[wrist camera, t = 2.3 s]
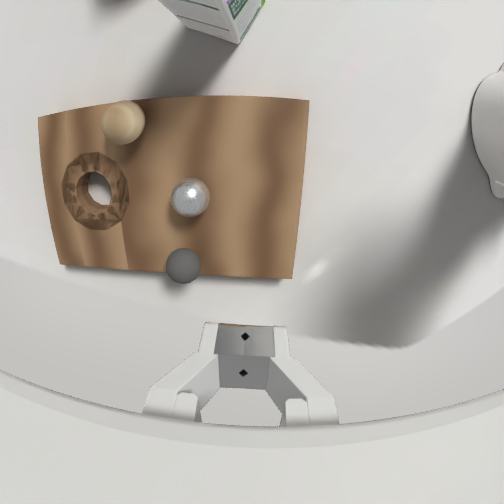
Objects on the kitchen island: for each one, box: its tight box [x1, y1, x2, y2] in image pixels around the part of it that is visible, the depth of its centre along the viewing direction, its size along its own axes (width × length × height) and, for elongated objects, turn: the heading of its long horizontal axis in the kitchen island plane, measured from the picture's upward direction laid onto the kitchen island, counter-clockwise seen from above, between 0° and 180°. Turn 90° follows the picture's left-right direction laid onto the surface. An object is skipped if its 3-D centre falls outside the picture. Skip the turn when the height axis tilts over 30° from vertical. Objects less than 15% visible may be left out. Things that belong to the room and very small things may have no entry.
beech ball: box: [101, 101, 145, 145], centre depth 22 cm, size 4×4×4 cm
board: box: [38, 96, 309, 279], centre depth 28 cm, size 28×18×2 cm, turn 88°
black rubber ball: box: [166, 248, 201, 284], centre depth 29 cm, size 4×4×4 cm
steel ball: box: [171, 178, 210, 217], centre depth 26 cm, size 4×4×4 cm
